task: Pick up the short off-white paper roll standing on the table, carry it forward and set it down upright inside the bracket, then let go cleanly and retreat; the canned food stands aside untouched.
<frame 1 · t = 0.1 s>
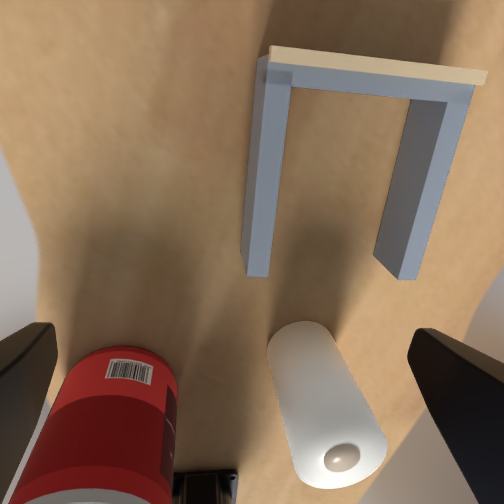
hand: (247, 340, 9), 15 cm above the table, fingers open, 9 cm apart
canned food: (123, 382, 28), on the table
bracket: (330, 180, 23), on the table
roll: (300, 349, 28), on the table
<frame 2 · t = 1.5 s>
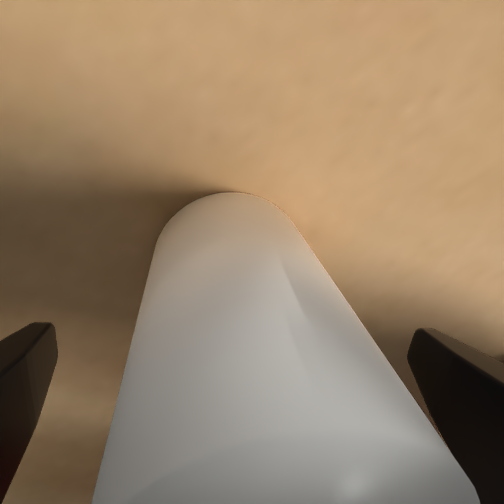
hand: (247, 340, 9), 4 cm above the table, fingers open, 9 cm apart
roll: (230, 265, 13), on the table
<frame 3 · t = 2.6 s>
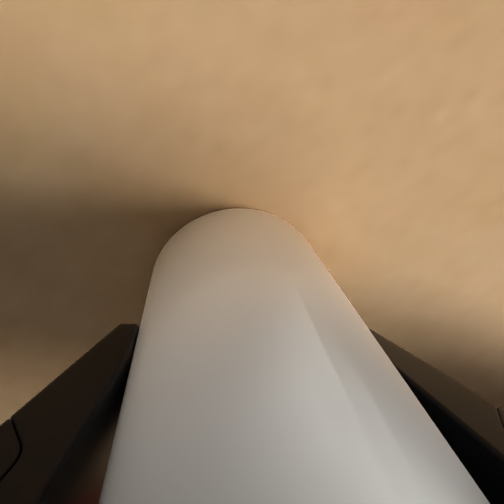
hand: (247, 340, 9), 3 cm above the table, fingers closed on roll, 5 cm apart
roll: (237, 288, 12), on the table, touching gripper
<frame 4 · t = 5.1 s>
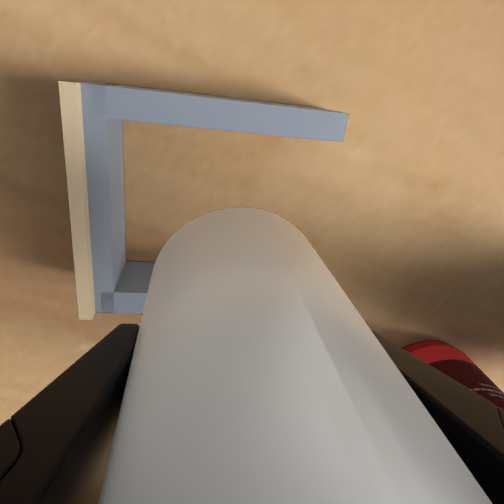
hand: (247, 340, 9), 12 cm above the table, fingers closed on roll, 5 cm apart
canned food: (416, 378, 29), on the table
bracket: (219, 199, 21), on the table
roll: (237, 288, 12), point 10 cm above the table, touching gripper
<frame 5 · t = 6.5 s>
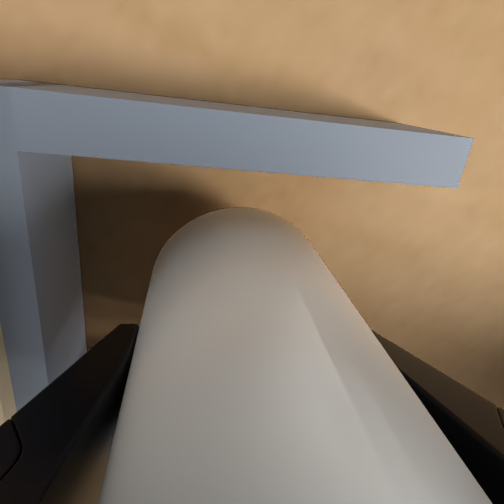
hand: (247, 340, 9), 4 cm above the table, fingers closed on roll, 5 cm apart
bracket: (230, 263, 13), on the table
roll: (237, 288, 12), point 2 cm above the table, touching gripper
when the fingers open (4 cm above the table, at t = 7.4 s): roll drops 1 cm, on the table.
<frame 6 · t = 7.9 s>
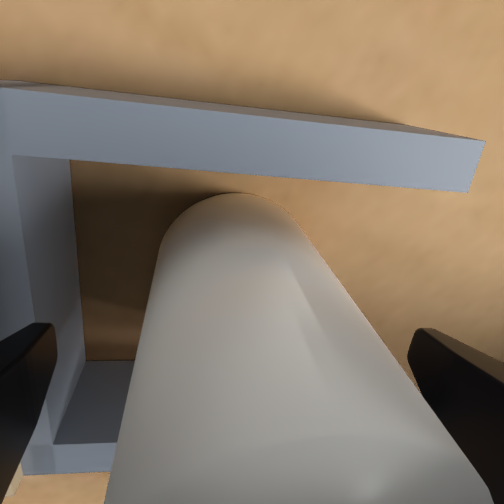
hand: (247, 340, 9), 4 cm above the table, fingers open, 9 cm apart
bracket: (232, 268, 13), on the table
roll: (234, 266, 13), on the table
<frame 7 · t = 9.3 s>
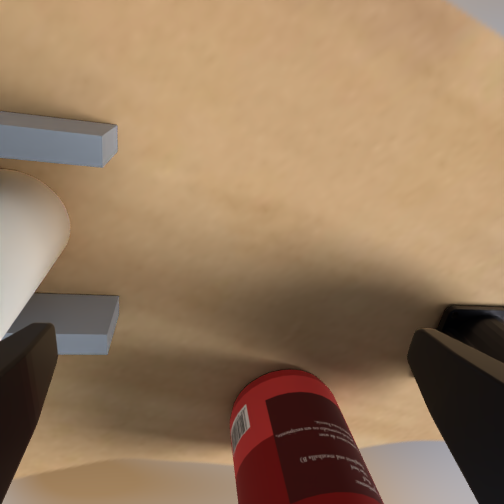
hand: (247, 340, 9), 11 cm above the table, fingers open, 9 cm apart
canned food: (280, 406, 27), on the table
bracket: (11, 222, 18), on the table
roll: (13, 221, 18), on the table
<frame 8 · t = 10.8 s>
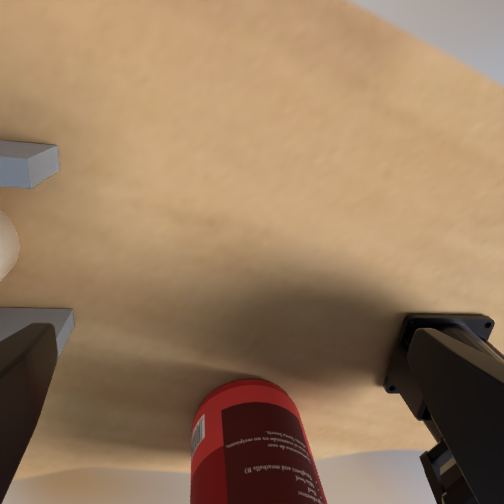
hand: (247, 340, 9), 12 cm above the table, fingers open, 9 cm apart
canned food: (244, 415, 27), on the table
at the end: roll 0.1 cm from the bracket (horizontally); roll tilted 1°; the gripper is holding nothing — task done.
